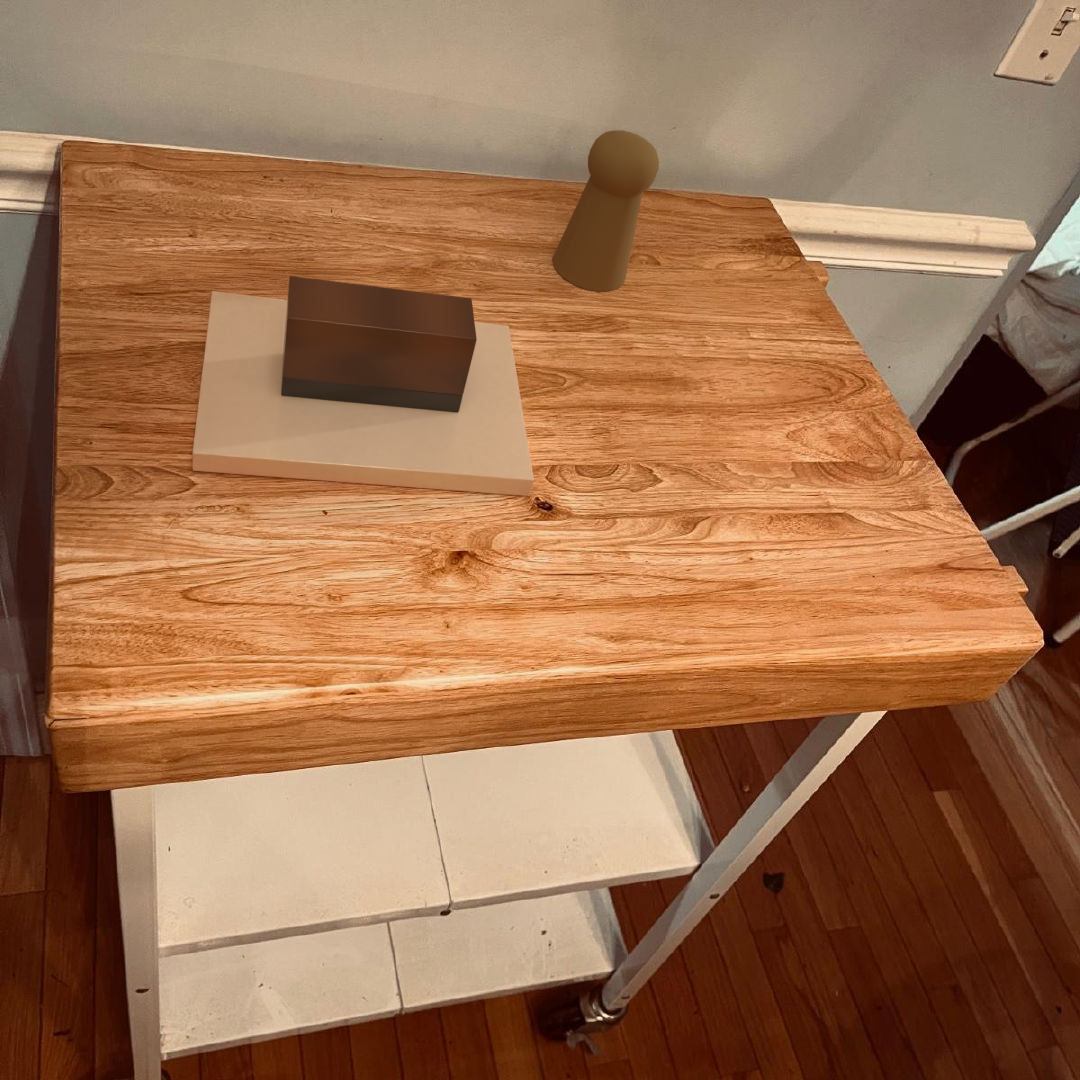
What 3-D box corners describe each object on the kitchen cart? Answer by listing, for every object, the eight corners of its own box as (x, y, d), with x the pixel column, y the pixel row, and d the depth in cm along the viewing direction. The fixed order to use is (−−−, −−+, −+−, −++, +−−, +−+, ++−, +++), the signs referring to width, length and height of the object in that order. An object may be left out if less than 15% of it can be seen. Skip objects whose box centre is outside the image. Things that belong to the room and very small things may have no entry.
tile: (192, 471, 61) (192, 452, 60) (211, 308, 71) (211, 290, 70) (528, 496, 67) (534, 480, 65) (504, 341, 76) (509, 325, 75)
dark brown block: (280, 396, 65) (287, 317, 61) (283, 353, 68) (289, 275, 63) (458, 413, 68) (477, 339, 63) (454, 371, 70) (471, 297, 66)
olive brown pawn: (614, 248, 88) (657, 123, 80) (634, 294, 84) (680, 168, 76) (544, 242, 86) (581, 114, 78) (562, 289, 82) (602, 159, 74)
